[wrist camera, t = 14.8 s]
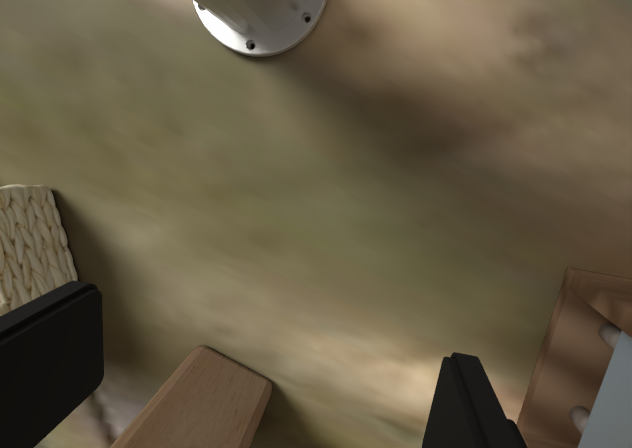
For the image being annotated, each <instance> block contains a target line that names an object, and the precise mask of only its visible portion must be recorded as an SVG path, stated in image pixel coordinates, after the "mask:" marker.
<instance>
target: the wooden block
mask: <svg viewBox="0 0 632 448" xmlns="http://www.w3.org/2000/svg"><path fill="white" fill-rule="evenodd" d="M271 393H272V383H271V382H270V381H269V380H268V379H266V378H264V377H262V376H261V375H259V374H257V373H255V372H253V371H251V370H249V369H248V368H246V367H244V366H242V365H240V364H238V363H236V362H234V361H233V360H231V359H229V358H227V357H225V356H223V355H221V354H219V353H218V352H216V351H214V350H212V349H210V348H208V347H206V346H202V345H200V346H197V347H196V348H195V349H194V350H193V351H192V352H191V353H190V354H189V355H188V356H187V358H186V359H185V360H184V361H183V362H182V363H181V365H180V366H179V367H178V368H177V369H176V371H175V372H174V373H173V374H172V375H171V376H170V378H169V379H168V380H167V381H166V382H165V383H164V385H163V386H162V387H161V388H160V389H159V390H158V392H157V393H156V394H155V395H154V396H153V398H152V399H151V400H150V401H149V402H148V403H147V405H146V406H145V407H144V408H143V409H142V410H141V412H140V413H139V414H138V415H137V416H136V417H135V419H134V420H133V421H132V422H131V423H130V424H129V426H128V427H127V428H126V429H125V430H124V432H123V433H122V434H121V435H120V436H119V437H118V439H117V440H116V441H115V442H114V443H113V444H112V446H111V447H110V448H249V447H250V445H251V442H252V440H253V437H254V435H255V432H256V430H257V427H258V425H259V423H260V420H261V418H262V415H263V413H264V410H265V408H266V405H267V403H268V400H269V398H270V395H271Z"/></svg>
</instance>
